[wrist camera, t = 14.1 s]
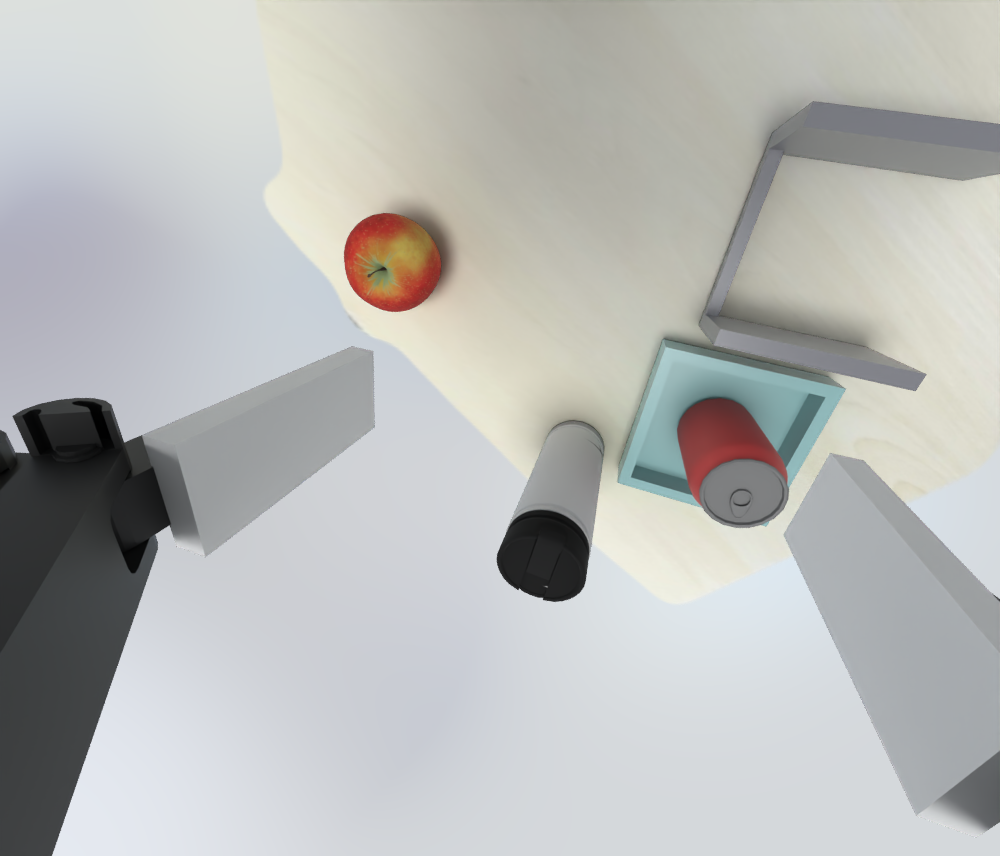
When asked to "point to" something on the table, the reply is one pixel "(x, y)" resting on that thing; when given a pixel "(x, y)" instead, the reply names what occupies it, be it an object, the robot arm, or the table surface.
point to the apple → (391, 262)
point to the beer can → (731, 464)
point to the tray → (710, 375)
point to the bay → (857, 142)
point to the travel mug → (555, 516)
